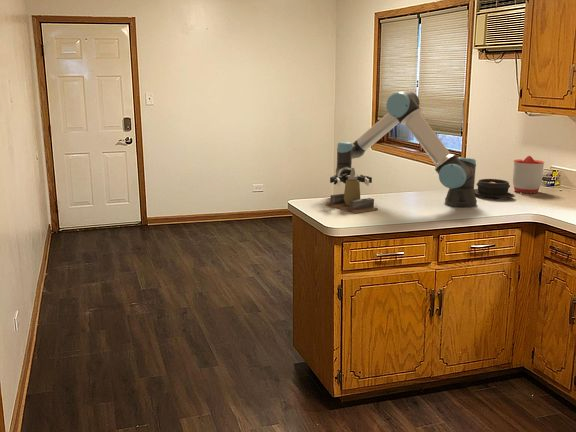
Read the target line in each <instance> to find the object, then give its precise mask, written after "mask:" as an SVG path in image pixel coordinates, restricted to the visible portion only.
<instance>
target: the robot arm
mask: <svg viewBox="0 0 576 432" xmlns="http://www.w3.org/2000/svg"><path fill="white" fill-rule="evenodd" d="M420 105H421V104H420V98H419V97H418V95H417V94H416V93H415V92H413V91H396V92H394V93H392V94H390V96H388V98H387V100H386V111H387V113H386V114H385V115H384V116H382V118H380V119H379V120H378V121H376V123H374V124H373V125H372V126H371V127H370V128H368V129H367V130H366V131H365V132H364V133H363V134H362V135H361V136H360V137H358V138H357V139H356V140H355V141H354V142H353V143H352V142H351V141H340V142H339V141H338V143H337V149H336V169H335V174H334V175H332V176H330V178H329V183H331V184H332V183H333V185H337V186H338V187H340V186H341V183H343V184H344V185H345V184H346V180H348V175H350V173H351V169H352V162H353V161H352V160H353V159H357V158H359V159H360V158H361V157H362V156H364V154H365V152H366V151H368V149H370V148H371V147H372V146H374V144H376V143H377V142H378V141H379V140H380V139H382V138H383V137H384V136H385V135H387V134H388V133H389V132H390V131H392V130H393V128H394V127H396V126H397V125H398V124H400V125H403V126H406V127H407V129H408V131H410V133H411V135H412V136H413V137H414V138H415V140H416V141H417V142H418V144H419V145H420V146H421V148H422V149H423V150H424V151H425V153H426V155H427V156H428V157H429V159H431V161H432V162H433V164H434V170H435V172H436V173H437V174H438V179H439V182H440V184H441V185H442V186H443V187H445V188H448V191H447V193H446V197H445V198H444V205H447V206H450V207H456V208H457V207H458V208H471V207H472V208H474V207H475V206H477V204H478V203H477V201H478V200H477V199H476V194H475V192H474V189H475V183H476V182H475V180H476V167H477V162H476V161H477V160H476V159H475V158H468V157H467V158H466V157H458V156H457V155H456V154H454V153H451V152H450V151H449V150H448V148H447V147H446V146H445V144H444V143H443V142H442V141H441V139H440V138H439V137H438V136H437V134H436V132H435V131H434V130H433V129H432V128H431V126H430V125H429V123H428V121H426V120H425V118H424V116H422V114H421V111H422V109H421V108H420ZM356 175H357V176H358V179H357V180H359V183H364V184H365V186H367V187H368V186H369V185H370V184H371V183H373V181H372V180H373V177H371V176H369V175H368V176H367V175H363V174H359V175H358V174H356Z"/></svg>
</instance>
